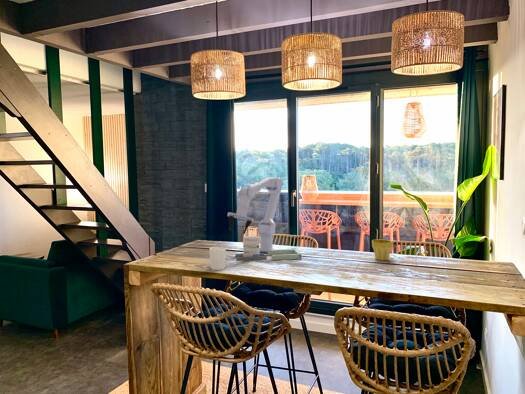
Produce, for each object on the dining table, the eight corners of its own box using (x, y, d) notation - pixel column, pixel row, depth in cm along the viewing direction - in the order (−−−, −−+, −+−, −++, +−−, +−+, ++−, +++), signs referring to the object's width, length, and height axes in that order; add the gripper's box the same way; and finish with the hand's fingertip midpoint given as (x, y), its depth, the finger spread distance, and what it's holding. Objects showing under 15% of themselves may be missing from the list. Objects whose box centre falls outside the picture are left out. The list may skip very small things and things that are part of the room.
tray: (267, 254, 228) (267, 250, 228) (295, 253, 230) (295, 249, 230) (271, 260, 214) (271, 255, 214) (301, 258, 216) (301, 254, 216)
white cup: (206, 268, 197) (206, 248, 196) (218, 265, 202) (218, 246, 202) (217, 271, 191) (216, 250, 191) (229, 268, 197) (229, 248, 196)
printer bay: (235, 256, 223) (235, 254, 222) (264, 255, 225) (264, 252, 225) (236, 260, 214) (236, 257, 214) (266, 259, 216) (266, 256, 216)
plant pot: (373, 261, 210) (373, 242, 209) (370, 256, 220) (370, 239, 219) (393, 261, 209) (394, 242, 208) (389, 257, 219) (390, 239, 218)
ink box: (259, 257, 221) (259, 235, 221) (258, 259, 216) (258, 237, 216) (244, 256, 222) (244, 235, 221) (243, 258, 217) (243, 237, 216)
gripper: (231, 203, 215) (224, 227, 212) (256, 210, 217) (251, 234, 214) (229, 205, 222) (223, 229, 219) (254, 212, 224) (249, 235, 221)
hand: (237, 232), depth 217 cm, fingers open, 7 cm apart
